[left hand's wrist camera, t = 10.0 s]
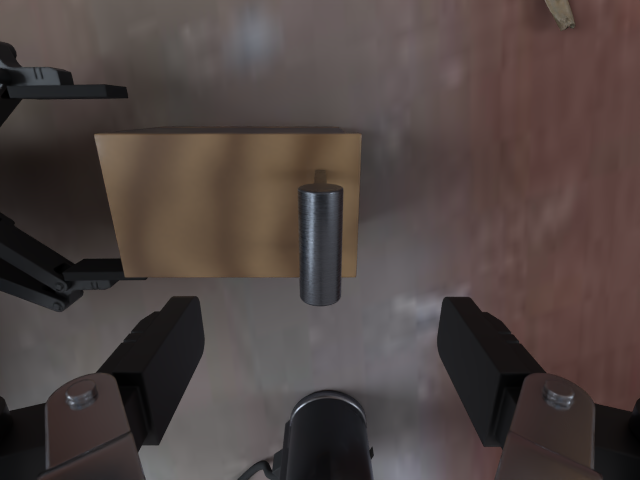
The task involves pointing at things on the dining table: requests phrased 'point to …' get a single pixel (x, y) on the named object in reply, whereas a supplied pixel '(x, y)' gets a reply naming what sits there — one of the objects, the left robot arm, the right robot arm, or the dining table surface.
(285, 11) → the dining table surface
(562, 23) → the jawbone
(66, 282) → the right robot arm
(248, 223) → the lid
